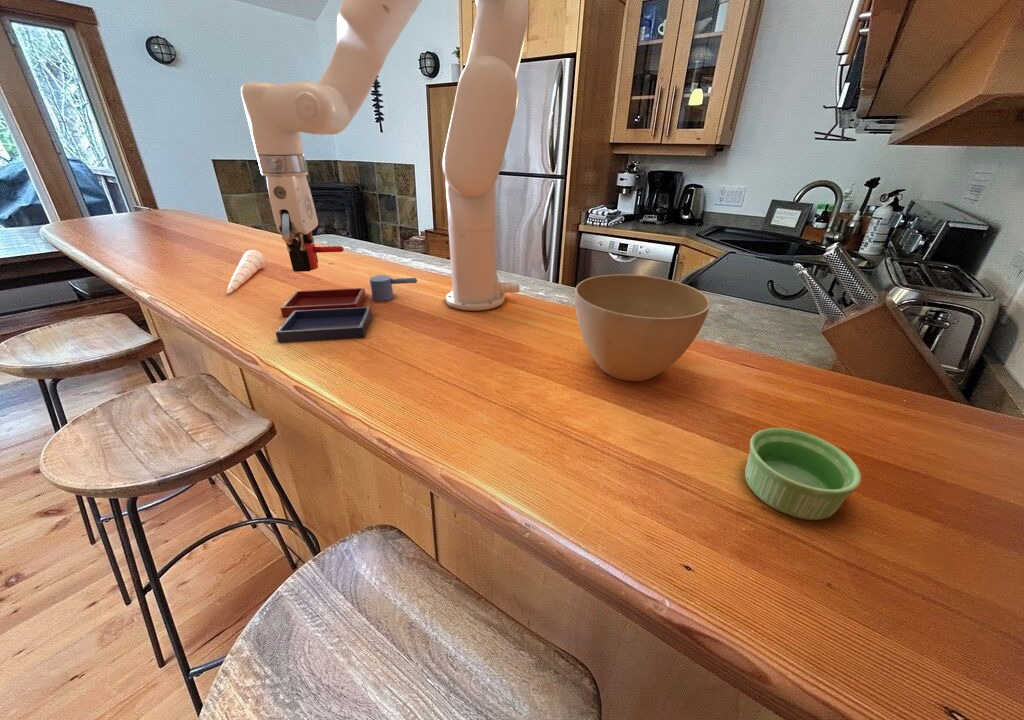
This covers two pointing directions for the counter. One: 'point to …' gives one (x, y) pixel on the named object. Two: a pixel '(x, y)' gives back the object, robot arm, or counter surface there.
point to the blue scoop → (386, 286)
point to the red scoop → (313, 250)
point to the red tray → (323, 300)
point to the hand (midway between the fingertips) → (306, 266)
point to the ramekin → (799, 473)
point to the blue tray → (325, 324)
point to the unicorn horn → (246, 269)
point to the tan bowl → (638, 322)
